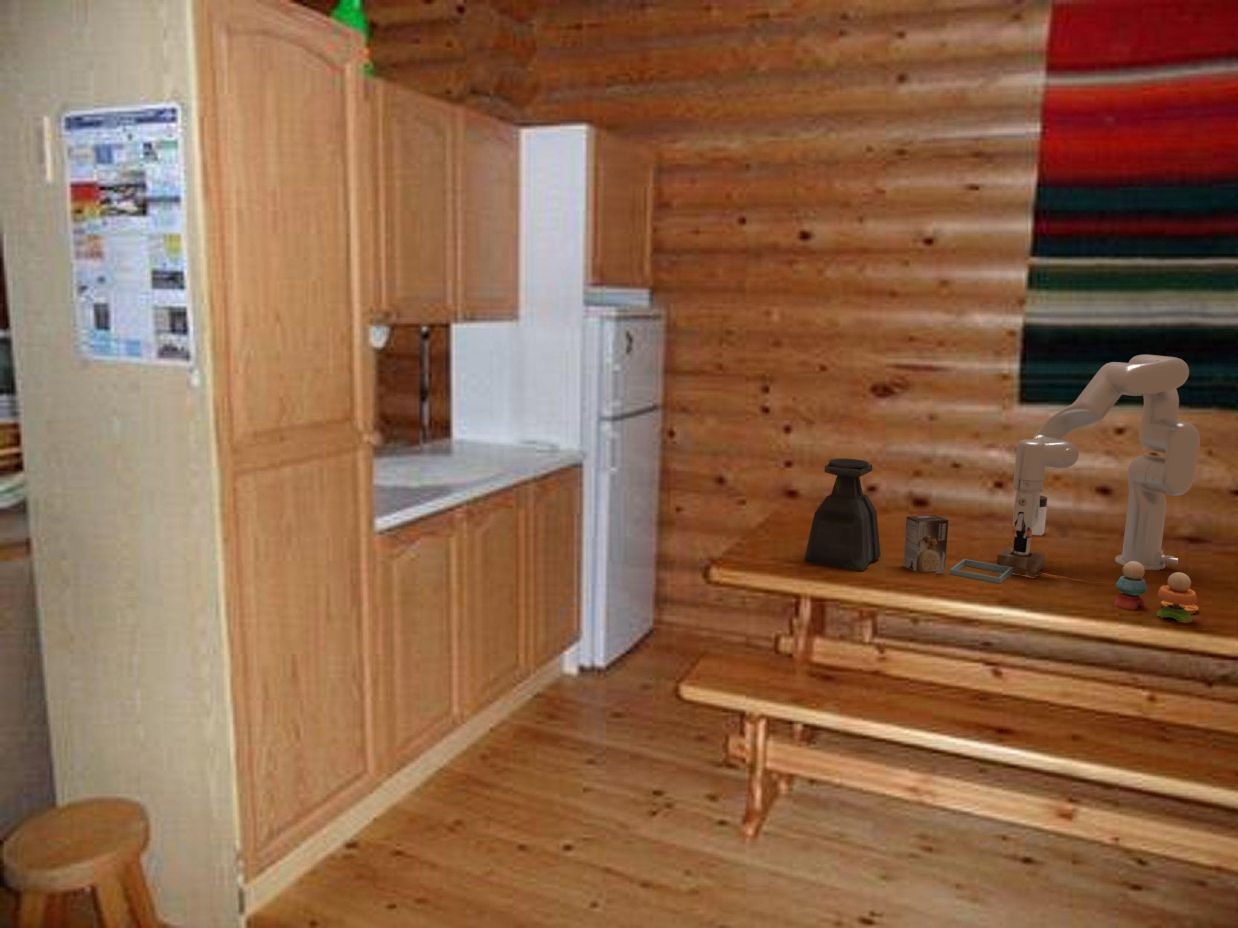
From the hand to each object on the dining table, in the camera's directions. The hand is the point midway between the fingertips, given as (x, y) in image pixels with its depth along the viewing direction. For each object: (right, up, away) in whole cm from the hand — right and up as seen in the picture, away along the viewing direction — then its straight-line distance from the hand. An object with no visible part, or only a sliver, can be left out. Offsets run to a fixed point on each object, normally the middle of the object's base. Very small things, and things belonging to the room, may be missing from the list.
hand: (1021, 549), depth 261 cm
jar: (+22, +1, +45) cm, 50 cm away
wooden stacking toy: (+19, -13, -32) cm, 39 cm away
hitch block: (0, -6, +1) cm, 6 cm away
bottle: (-50, -6, +1) cm, 50 cm away
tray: (-13, -7, -5) cm, 16 cm away
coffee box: (-29, -7, -4) cm, 30 cm away
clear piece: (0, -6, +1) cm, 6 cm away
